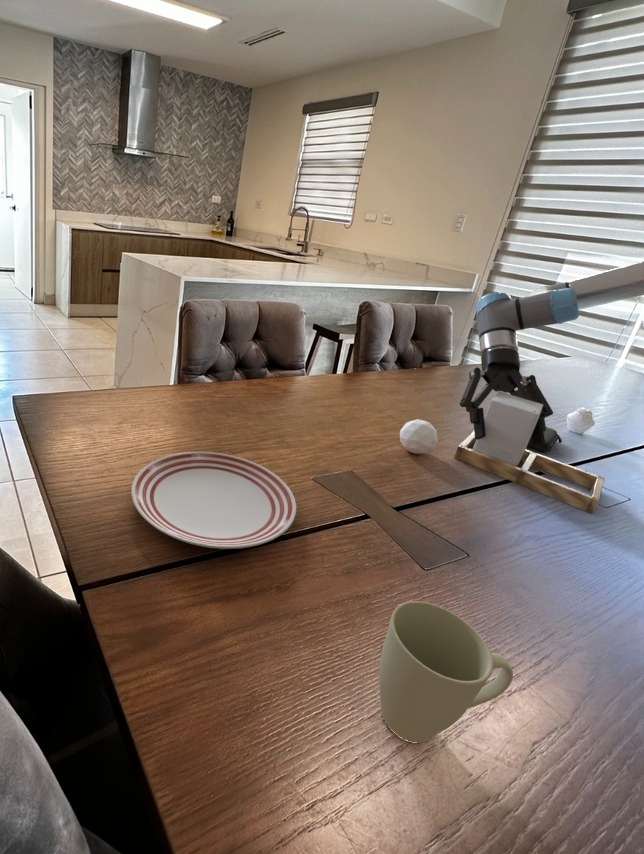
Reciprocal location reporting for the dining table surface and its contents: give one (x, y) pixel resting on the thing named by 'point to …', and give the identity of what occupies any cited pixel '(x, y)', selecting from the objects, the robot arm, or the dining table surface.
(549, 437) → the carrying case
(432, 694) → the mug
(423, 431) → the geometric ball
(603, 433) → the dining table surface
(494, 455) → the rectangular carton
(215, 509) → the dinner plate
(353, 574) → the dining table surface
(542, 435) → the robot arm
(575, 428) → the muffin
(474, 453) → the rack
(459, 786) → the dining table surface
